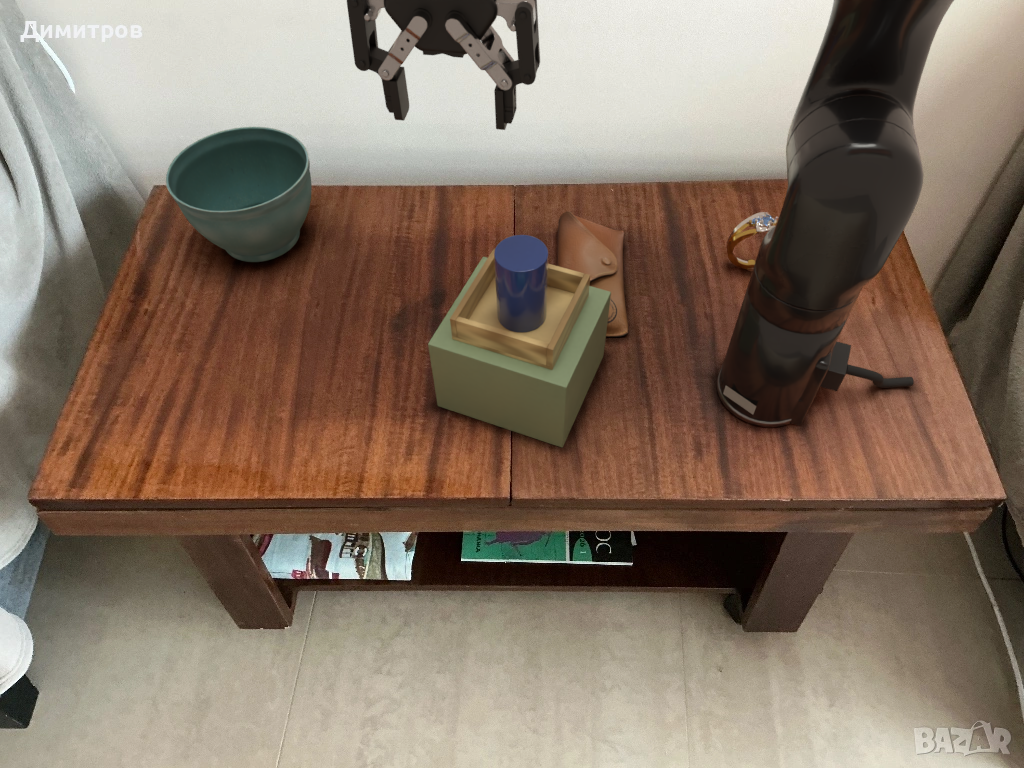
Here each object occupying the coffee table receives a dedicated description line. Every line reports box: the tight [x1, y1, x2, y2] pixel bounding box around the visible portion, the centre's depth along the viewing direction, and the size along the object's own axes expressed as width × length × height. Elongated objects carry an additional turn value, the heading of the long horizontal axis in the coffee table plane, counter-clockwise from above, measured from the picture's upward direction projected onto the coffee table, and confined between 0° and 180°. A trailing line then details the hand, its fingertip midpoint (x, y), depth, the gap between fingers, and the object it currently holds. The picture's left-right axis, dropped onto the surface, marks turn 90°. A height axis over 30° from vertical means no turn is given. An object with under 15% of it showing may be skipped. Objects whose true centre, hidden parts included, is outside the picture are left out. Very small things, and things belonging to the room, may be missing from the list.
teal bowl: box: [165, 126, 313, 263], centre depth 94 cm, size 16×16×11 cm
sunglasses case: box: [556, 210, 629, 338], centre depth 91 cm, size 18×7×7 cm
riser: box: [427, 256, 611, 448], centre depth 79 cm, size 14×13×10 cm
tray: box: [450, 248, 590, 370], centre depth 74 cm, size 10×10×3 cm
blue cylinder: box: [494, 234, 549, 333], centre depth 72 cm, size 5×5×8 cm
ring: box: [726, 211, 779, 272], centre depth 90 cm, size 7×3×8 cm, turn 86°
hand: (452, 119), depth 64 cm, fingers open, 8 cm apart
